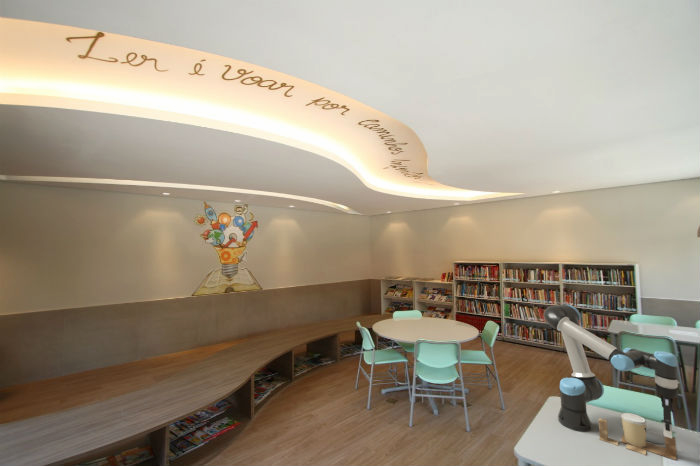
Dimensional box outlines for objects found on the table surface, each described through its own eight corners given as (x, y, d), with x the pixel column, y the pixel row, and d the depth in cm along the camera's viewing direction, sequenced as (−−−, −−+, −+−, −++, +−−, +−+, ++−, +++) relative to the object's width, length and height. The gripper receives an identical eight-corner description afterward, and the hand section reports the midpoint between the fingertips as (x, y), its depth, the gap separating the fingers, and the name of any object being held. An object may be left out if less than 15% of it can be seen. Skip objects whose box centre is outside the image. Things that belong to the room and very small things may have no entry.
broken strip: (599, 439, 155) (598, 420, 155) (600, 436, 158) (599, 417, 158) (645, 455, 143) (644, 434, 143) (646, 451, 145) (644, 431, 146)
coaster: (633, 436, 157) (633, 436, 157) (635, 427, 165) (635, 426, 165) (667, 447, 148) (667, 446, 148) (667, 436, 156) (667, 436, 156)
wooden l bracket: (621, 442, 152) (619, 421, 153) (622, 435, 158) (621, 415, 159) (677, 460, 138) (675, 437, 139) (677, 452, 144) (675, 430, 145)
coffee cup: (653, 449, 146) (651, 423, 147) (630, 446, 148) (628, 421, 149) (639, 437, 155) (637, 413, 156) (618, 435, 157) (616, 411, 158)
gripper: (678, 397, 133) (680, 446, 133) (677, 380, 150) (678, 423, 150) (654, 391, 139) (656, 438, 138) (655, 375, 156) (657, 416, 155)
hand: (667, 430), depth 144 cm, fingers open, 13 cm apart
